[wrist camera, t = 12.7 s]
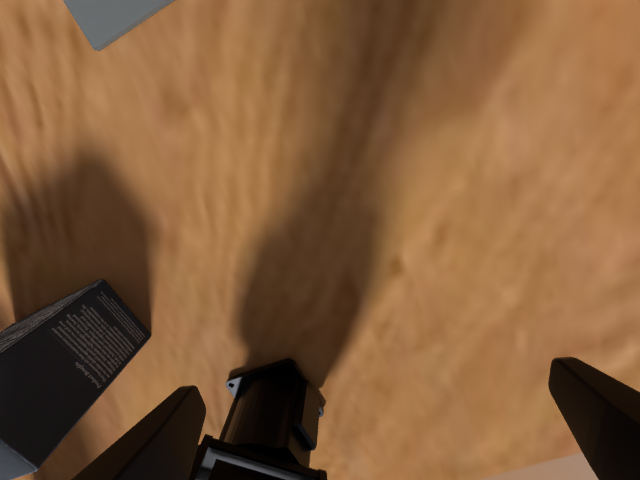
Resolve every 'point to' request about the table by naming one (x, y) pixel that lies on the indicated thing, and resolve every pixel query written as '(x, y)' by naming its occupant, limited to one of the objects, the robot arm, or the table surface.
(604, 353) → the table surface
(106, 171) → the table surface
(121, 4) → the mat
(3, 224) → the table surface
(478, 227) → the table surface
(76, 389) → the small box
